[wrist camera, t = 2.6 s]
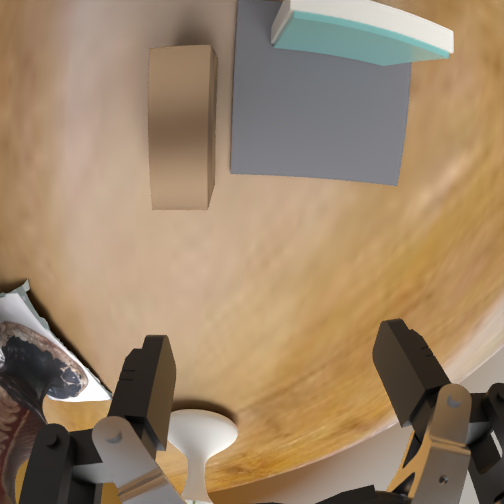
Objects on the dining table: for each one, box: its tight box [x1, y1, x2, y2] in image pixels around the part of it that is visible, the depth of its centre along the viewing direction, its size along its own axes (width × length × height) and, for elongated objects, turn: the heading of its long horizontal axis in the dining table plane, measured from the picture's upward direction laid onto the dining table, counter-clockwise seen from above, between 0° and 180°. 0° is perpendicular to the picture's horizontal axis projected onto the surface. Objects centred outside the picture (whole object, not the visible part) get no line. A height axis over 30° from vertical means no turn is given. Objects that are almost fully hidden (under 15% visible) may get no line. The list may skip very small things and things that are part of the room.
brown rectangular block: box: [148, 45, 218, 210], centre depth 19 cm, size 10×4×6 cm, turn 178°
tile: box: [271, 0, 453, 66], centre depth 14 cm, size 2×9×9 cm, turn 87°
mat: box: [231, 0, 411, 186], centre depth 20 cm, size 14×14×1 cm
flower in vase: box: [167, 409, 238, 504], centre depth 29 cm, size 13×11×25 cm
